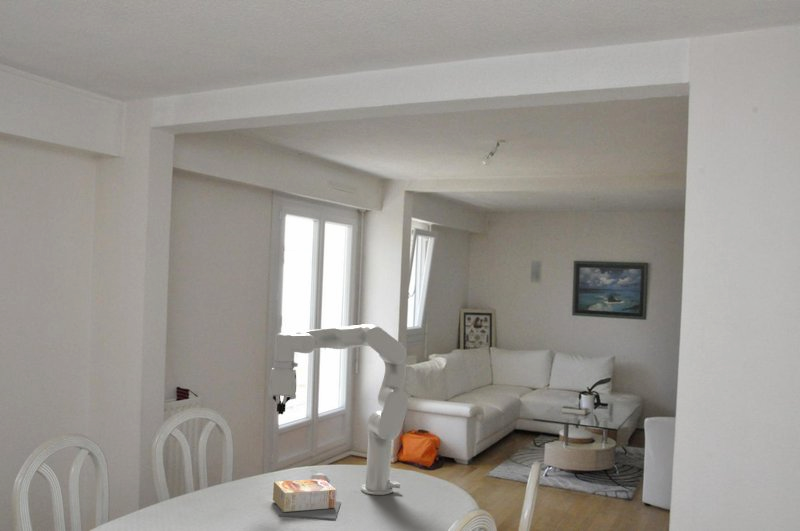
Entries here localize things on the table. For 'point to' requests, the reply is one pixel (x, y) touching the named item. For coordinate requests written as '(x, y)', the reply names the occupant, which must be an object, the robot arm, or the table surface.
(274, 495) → the coffeecake box
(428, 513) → the table surface
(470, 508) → the table surface
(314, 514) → the mat
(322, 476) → the die
